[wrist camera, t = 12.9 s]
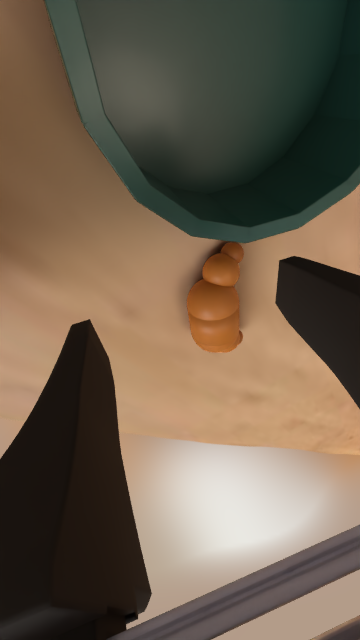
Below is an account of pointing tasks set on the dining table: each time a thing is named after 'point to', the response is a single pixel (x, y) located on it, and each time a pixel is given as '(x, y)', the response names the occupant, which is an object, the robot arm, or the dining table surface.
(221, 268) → the croissant
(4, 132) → the dining table surface
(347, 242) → the dining table surface
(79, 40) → the pot
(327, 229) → the dining table surface
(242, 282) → the dining table surface
